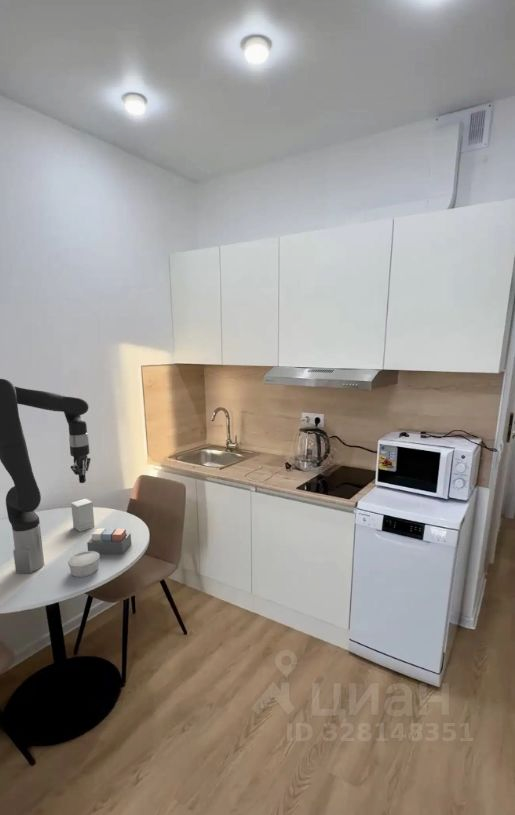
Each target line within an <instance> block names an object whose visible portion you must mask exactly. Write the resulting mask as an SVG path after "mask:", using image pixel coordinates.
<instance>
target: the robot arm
mask: <svg viewBox="0 0 515 815" xmlns="http://www.w3.org/2000/svg"><path fill="white" fill-rule="evenodd" d="M19 405H21V406H27V407H32V408H37V409H40V410H46V411H51V412H63V414H64V417H65V419H66V420H65V421H66V422H67V426H68V433H69V436H68V441H69V452H70V453H69V454H70V456H71V457H73V465H70V469H71V471H72V472H73V473H74V475H76V476H78V482H79V483H80V484H84V483H86V474H87V472H88V471H89V467H90V463H91V458H90V457H88V455H89V454H90V443H89V442H90V440H89V435H88V429H87V422H86V420H84V419H83V418H82V415H85V414H86V413H87V412H88V411H89V403H88V402H87V400H85V399H83V398H79V397H74V396H66V395H62V394H60V393H54V392H50V391H44V390H36V389H30V388H29V389H28V388H22V387H19V386H15V385H14V384H13V383H12V382H11V381H9V380H8V379H5V378H0V463H2V465H3V467H4V469H5V470H6V471H7V473H8V474H9V476H10V477H11V479H12V481H13V484H14V486H12V487H11V488H9V490H8V491H7V492H6V496H5V507H6V513H7V518H8V522H9V523H10V524H11V529H12V538H13V546H14V547H13V548H14V549H13V552H12V553H13V559H14V568H15V573H16V574H32V573H33V572H35V571H38V570H39V569H40V570H41V568H42V567H43V566H44V565H45V559H44V551H43V550H44V549H43V540H42V532H41V522H40V517H39V515H38V514H37V513H36V512H35V510H37V509H38V508H39V506H40V504H41V499H42V495H41V491H40V489H39V486H38V483H37V480H36V478H35V476H34V471H33V468H32V464H31V459H30V455H29V450H28V446H27V442H26V438H25V434H24V430H23V426H22V422H21V418H20V414H19V413H20V412H19Z"/></svg>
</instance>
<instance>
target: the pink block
mask: <svg viewBox="0 0 515 815" xmlns="http://www.w3.org/2000/svg"><path fill="white" fill-rule="evenodd" d="M115 529H116V531H115V532H114V533H113V534H112V540H113V541H123V539H124V538H125V537H126V533H127V530H126V528H115Z"/></svg>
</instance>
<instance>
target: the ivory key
mask: <svg viewBox="0 0 515 815" xmlns="http://www.w3.org/2000/svg"><path fill="white" fill-rule="evenodd" d="M106 529H107V528H101V527H100V528H96V529H95V530H94V531H93V532H92V533H91V538H92V541H102V534H103V533H104V531H105V530H106Z"/></svg>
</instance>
